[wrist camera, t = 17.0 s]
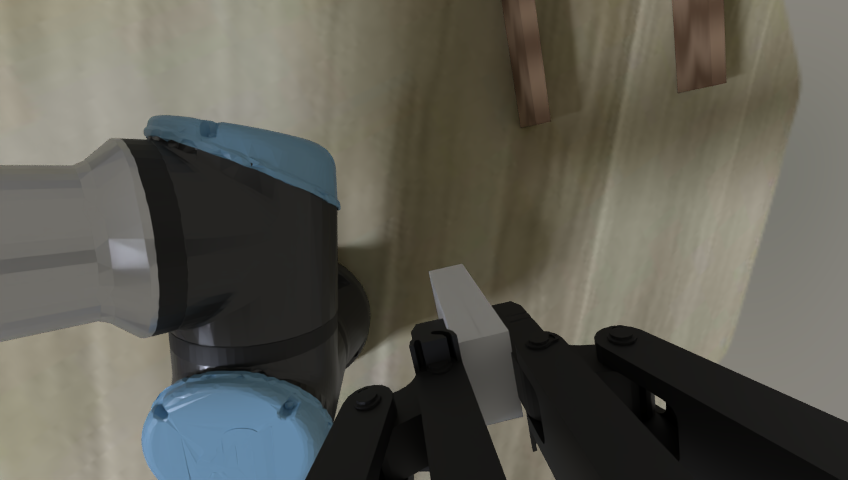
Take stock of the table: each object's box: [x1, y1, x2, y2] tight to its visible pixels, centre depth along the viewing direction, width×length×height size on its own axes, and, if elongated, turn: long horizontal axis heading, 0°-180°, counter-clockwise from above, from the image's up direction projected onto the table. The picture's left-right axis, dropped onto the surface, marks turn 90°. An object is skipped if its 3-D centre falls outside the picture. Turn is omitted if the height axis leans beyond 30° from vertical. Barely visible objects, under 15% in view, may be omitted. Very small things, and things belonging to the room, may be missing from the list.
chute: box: [502, 0, 726, 128], centre depth 41 cm, size 14×20×5 cm
